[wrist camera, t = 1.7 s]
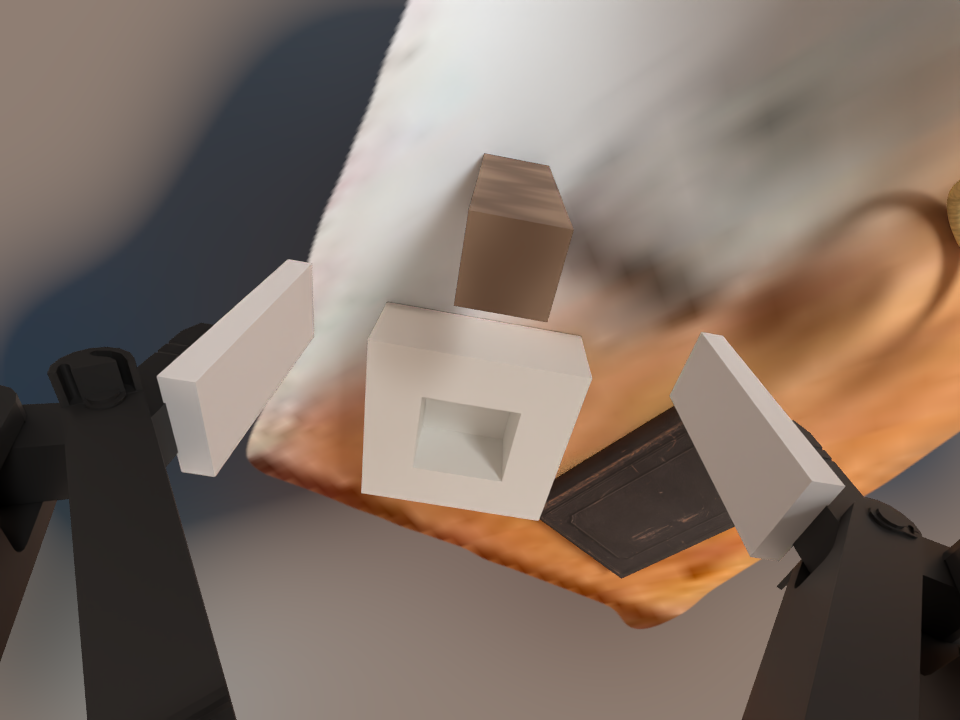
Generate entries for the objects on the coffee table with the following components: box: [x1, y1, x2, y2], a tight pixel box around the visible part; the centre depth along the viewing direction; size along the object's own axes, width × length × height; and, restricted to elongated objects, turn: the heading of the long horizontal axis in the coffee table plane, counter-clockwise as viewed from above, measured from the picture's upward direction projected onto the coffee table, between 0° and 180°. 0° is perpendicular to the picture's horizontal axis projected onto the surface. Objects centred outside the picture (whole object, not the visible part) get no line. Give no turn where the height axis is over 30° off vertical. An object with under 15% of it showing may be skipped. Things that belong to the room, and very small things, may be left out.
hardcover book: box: [540, 406, 735, 579], centre depth 46 cm, size 16×23×2 cm
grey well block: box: [361, 302, 592, 521], centre depth 39 cm, size 16×16×6 cm
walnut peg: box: [454, 153, 574, 322], centre depth 26 cm, size 4×4×14 cm
